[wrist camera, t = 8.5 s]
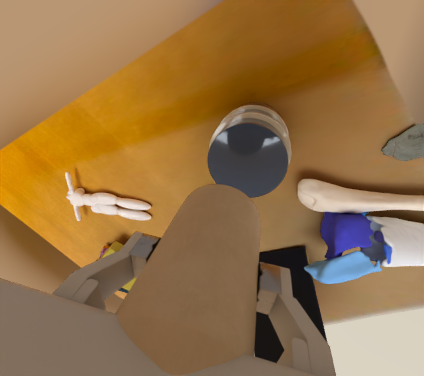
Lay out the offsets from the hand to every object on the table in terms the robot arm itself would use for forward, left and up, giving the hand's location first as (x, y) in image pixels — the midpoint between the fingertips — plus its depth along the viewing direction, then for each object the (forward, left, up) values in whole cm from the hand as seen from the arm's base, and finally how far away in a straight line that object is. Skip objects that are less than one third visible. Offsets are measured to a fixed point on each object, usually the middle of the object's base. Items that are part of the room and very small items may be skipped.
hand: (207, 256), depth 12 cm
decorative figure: (+18, -25, -24) cm, 39 cm away
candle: (0, 0, -4) cm, 4 cm away
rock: (-5, +20, -23) cm, 31 cm away
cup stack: (0, +1, -24) cm, 24 cm away
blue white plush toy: (+10, +22, -24) cm, 34 cm away
